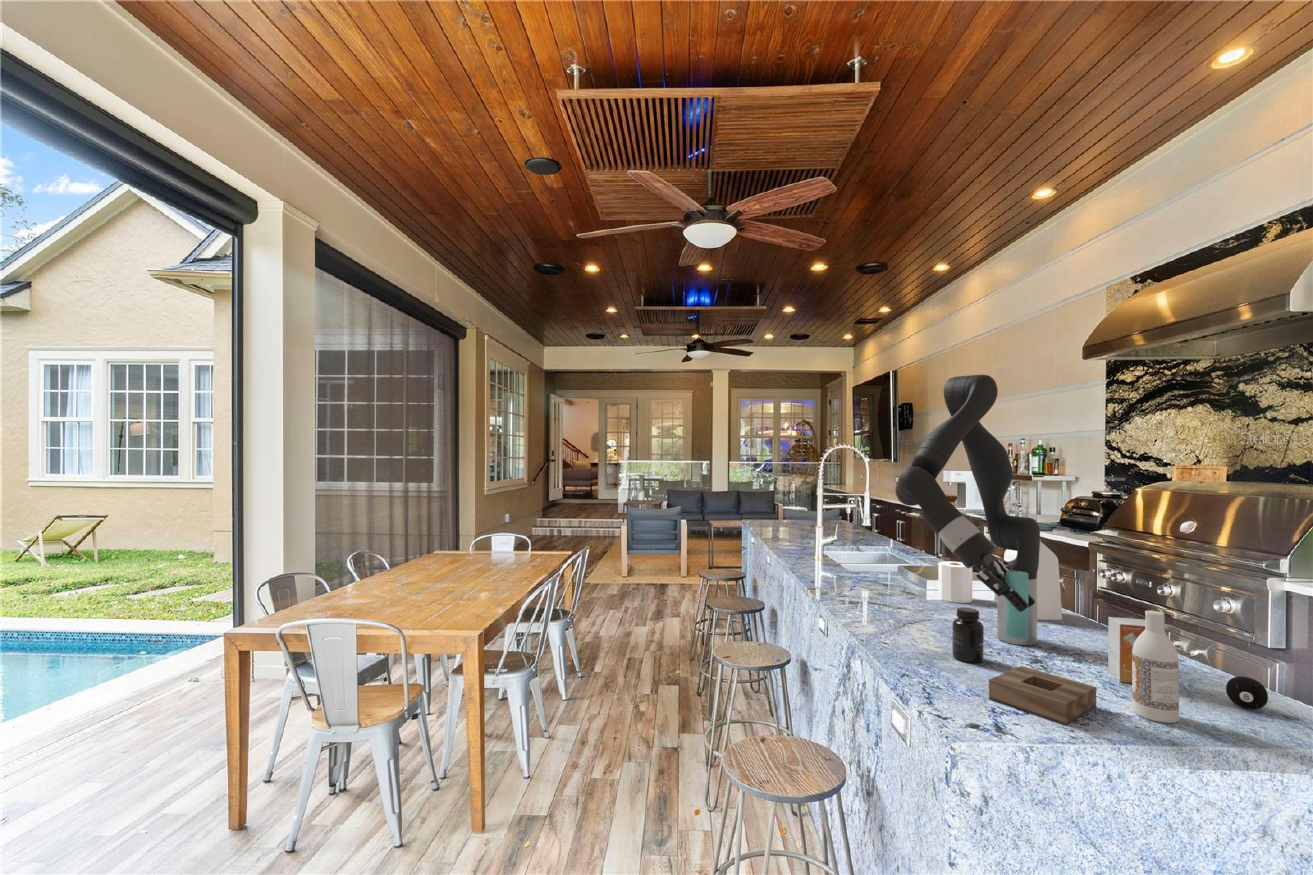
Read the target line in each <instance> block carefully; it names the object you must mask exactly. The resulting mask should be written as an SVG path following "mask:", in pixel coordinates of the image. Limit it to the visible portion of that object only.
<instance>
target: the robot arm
mask: <svg viewBox="0 0 1313 875" xmlns="http://www.w3.org/2000/svg"><path fill="white" fill-rule="evenodd" d="M998 393H999V392H998V384H997V382H996V380H995V379H994V378H993V377H992V376H990V375H987V374H970V375H959V376H953V377H950V378H948V379H947V380H946V381H945V383H944V386H943V397H944V398H943V399H944V401H945V403H944V404H945V405H946V408H947V411H948V412H949V414H950V417H949V418H948V419H946V420H945V421H943V422H942V423H941V424H940V425H938V426H936V427H935V428H933V430H931V432H930V433H929V434H928V435H927V436H926V437H925V438H924V440H923V441H922V443H921V444H920V446H919V447H918V449H917V451H916V452H915V455H914V456H913V460H912V462H911V464H910V466H908V467H907V468H904V470H903V471H902V472H901V473H900V475H899V477H898V481H897V484H896V486H895V495H896V499H898V500H899V502H900V503H902V504H903V505H904V506H905V505H906V506H911V507H914V506H917V505H918V506H919V507H920V510H922V511H921V512H922V519H923V520H924V522H925V523H926V524H927V525H928V526H929V528H930V529H931V530H933V532H935V534H936V535H937V536H938V538H940V540H941V542H942V543H943V544H944V545H945V547H947V549H949V550H950V552H951V553H952V554H953V555H954V556H955V557H956V558H957V559H958V560H959V562H962V563H963V565H964V566H965V567H966V568H971V567H972V568H973V567H975V568H976V570H978V573H976V574H975V577H976V578H977V579H978V580H979V581H980V582H982V583H983V584H984V585H985V586H986V587H987V588H988V589H989V590H990V591H991V592H993V593H994V594H995V595H996V598H997V600H996V602H997V603H996V604H997V606H996V608H997V609H996V610H997V611H996V612H997V613H996V614H997V616H996V617H997V618H996V620H997V624H996V625H997V627H996V628H997V633H996V634H997V639H998V640H1000V641H1002V642H1005V643H1009V644H1013V645H1018V646H1019V645H1020V646H1035V645H1037V644H1038V620H1037V570H1038V566H1039V548H1040V540H1041V529H1040V525H1039V523H1038V521H1037V520H1036V519H1034V518H1033V517H1028V516H1027V517H1026V516H1016V515H1009V514H1007V512H1006V509H1005V504H1004V503H1005V502H1004V499H1005V495H1006V494H1007V492H1008V490H1009V488H1010V486H1011V483H1012V480H1013V478H1014V471H1013V467H1012V462H1011V460H1010V458H1009V454H1008V451H1007V450H1006V448H1005V446H1004V445H1003V444H1002V443H1001V442H1000V441H999V439H997V438H996V437H995V436H994V435H993V434H992V433H990V432H989V431H988V430H987V429H986V428H985V427H984V426H983V424H982V423H981V422H980V421H981V420H982V419H983V417H984V416H985V415H987V413H988V412H989V411H990V410H991V409H992V407H993V406H994V405H995V402H996V400H997V398H998ZM961 442H962V446H963V448H964V451H965V453H966V457H967V459H968V464H969V468H970V470H971V473H972V475H973V479H974V481H975V484H976V487H977V490H978V492H979V495H980V498H981V499H980V500H981V502H982V507H983V511H984V515H985V521H986V525H987V529H988V533H989V537H990V539H991V540H990V539H989V538H987V536H985V535H984V533H982V530H980V529H979V528H978V527H977V526H975V524H974V523H973V522H972V521H970V520H969V519H968V518H967V517H966V516H965V515H963V513H961V511H959V509H958V508H957V507H956V506H955V505H953V504H952V502H951V501H950V500H949V499H948V497H947V496H946V494H945V492H944V490H943V489H942V488H941V486H940V485H939V483H938V481H937V480H936V479H937V478H938V476H939V474H940V473H941V472H942V471H943V469H944V468H945V467H946V465H947V463H948V461H949V460H950V459H951V456H952V455H953V454H954V452H955V450H956V449H957V447H959V444H960V443H961ZM996 548H999V549H1002V550H1007V549H1008V550H1014V551H1017V556H1016V559H1014V560H1012V561H1009V562H1007V561H1005V560H1004V559H1003V561H1001V560H1000V559H998V558H996V557H995V556H994V555H993V554H992V553H994V552H995V550H996ZM1006 571H1021V572H1026V573H1028V604H1027V602H1026V601H1025V600H1024V599H1023V598H1022V597H1021V596H1020V595H1019V594H1018V593H1017V592H1016V591H1014V589H1013V587H1012V586H1011V585H1010V584H1009V582H1008V578H1007V576H1006ZM1013 591H1014V592H1013ZM1006 598H1007V599H1008V600H1009V601H1010V602H1011V603H1012V604H1013V606H1014V607H1015V608H1016V609H1017V610H1018V611H1020V612H1022V611H1024V610H1025V609H1026V608H1028V607H1029V637H1028V638H1016V637H1011V636H1009V635H1007V634H1006Z"/></svg>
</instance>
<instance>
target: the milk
mask: <svg viewBox="0 0 1313 875" xmlns="http://www.w3.org/2000/svg"><path fill="white" fill-rule="evenodd" d="M1016 556H1017V551H1014V550H1008V549H1005V551H1004V555H1003V561H1004V560H1005V561H1007V562H1009V561H1012V560H1014V559H1016ZM1059 565H1060V564H1059V558H1058V556H1057V555H1056V554H1055V553H1054V552H1053V551H1052V550H1051V549H1050V548H1048V546H1046V544H1044V543H1043V542H1042V540H1041V539H1040V548H1039V566H1038V570H1037V621H1038V620H1039V621H1041V620H1042V621H1043V620H1044V621H1047V620H1048V621H1054V620H1055V621H1063V610H1062V597H1061V596H1062V594H1061V581H1060V567H1059Z"/></svg>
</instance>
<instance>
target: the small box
mask: <svg viewBox="0 0 1313 875" xmlns="http://www.w3.org/2000/svg"><path fill="white" fill-rule="evenodd" d="M1107 618H1108V619H1107V620H1108V623H1107V624H1108V625H1107V627H1108V629H1107V630H1108V633H1107V634H1108V635H1107V637H1108V640H1107V641H1108V642H1107V643H1108V644H1107V646H1108V647H1107V650H1108V652H1107V654H1108V655H1107V656H1108V661H1107V662H1108V664H1107V665H1108V669H1107V670H1108V673H1109V674H1110V675H1111V676H1112V677H1113V678H1114V679H1115V680H1117V681H1118V682H1120V683H1128V684H1132V649H1133V645H1134V642H1135V641H1136V639H1137V638H1138V637H1139V635H1140V634H1141V633H1142V632H1143V631H1144V630H1145V619H1142V618H1141V619H1140V618H1132V617H1118V616H1117V617H1115V616H1114V617H1113V616H1112V617H1111V616H1108V617H1107Z"/></svg>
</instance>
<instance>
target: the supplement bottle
mask: <svg viewBox="0 0 1313 875" xmlns="http://www.w3.org/2000/svg"><path fill="white" fill-rule="evenodd" d="M956 617H957V618H955V619H954V620H953V621H952V626H951V628H952V643H951V644H952V645H951V646H952V657H953V658H954V659H955V660H958V661H960V662H964V663H970V664H980V663H982V662H983V661H984V659H985V658H984V652H985V651H984V647H985V646H984V645H985V644H984V642H985V641H984V632H985V631H984V629H985V628H984V627H985V626H984V625H983V623H982V622H981V621H979V620H980V610H978V609H976V608H971V607H957V608H956Z"/></svg>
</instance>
